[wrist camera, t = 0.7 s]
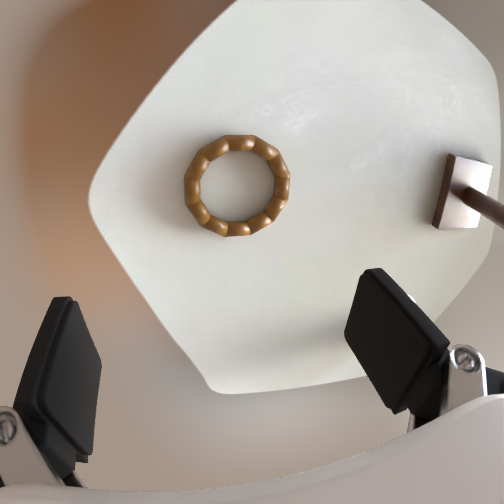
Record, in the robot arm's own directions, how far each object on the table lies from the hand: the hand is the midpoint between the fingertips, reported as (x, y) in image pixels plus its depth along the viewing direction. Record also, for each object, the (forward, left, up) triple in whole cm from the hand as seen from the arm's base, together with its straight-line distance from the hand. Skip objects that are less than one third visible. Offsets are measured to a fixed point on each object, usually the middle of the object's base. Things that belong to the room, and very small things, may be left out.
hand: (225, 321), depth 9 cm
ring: (+1, +3, -15) cm, 16 cm away
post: (+1, +31, -16) cm, 35 cm away
